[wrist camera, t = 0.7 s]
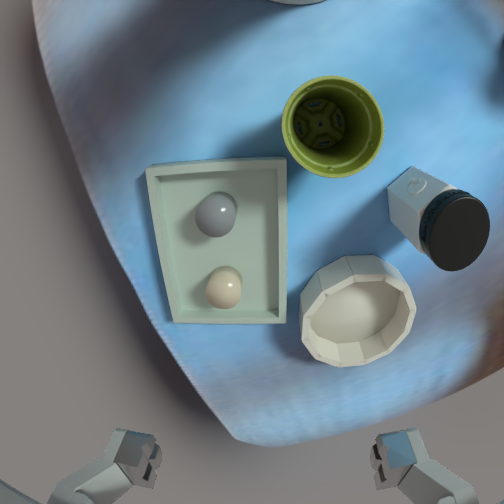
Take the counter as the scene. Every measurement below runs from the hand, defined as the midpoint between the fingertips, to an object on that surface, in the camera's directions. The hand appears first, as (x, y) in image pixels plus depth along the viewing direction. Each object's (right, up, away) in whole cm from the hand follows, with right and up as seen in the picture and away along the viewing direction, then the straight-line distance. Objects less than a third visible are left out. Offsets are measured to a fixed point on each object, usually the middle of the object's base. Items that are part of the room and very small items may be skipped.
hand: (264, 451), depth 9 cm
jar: (+21, +14, +26) cm, 36 cm away
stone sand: (-4, +3, +32) cm, 32 cm away
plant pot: (+7, +22, +23) cm, 33 cm away
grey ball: (-4, +12, +28) cm, 30 cm away
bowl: (+14, -1, +34) cm, 37 cm away
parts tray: (-4, +8, +30) cm, 32 cm away
